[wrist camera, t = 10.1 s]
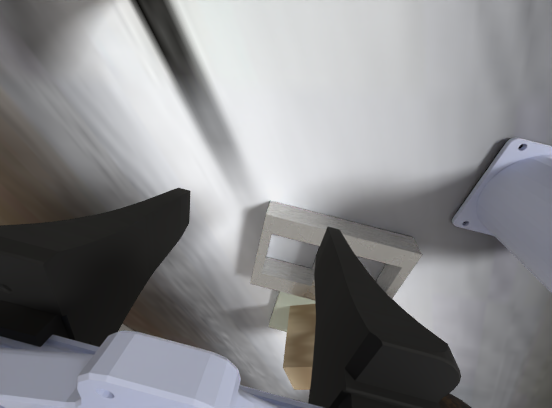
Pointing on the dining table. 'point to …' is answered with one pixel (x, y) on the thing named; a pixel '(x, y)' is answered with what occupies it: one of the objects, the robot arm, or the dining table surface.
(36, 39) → the dining table surface
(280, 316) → the ceramic tile
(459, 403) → the glass bottle
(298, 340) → the maple peg
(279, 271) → the white flat frame
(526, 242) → the robot arm
